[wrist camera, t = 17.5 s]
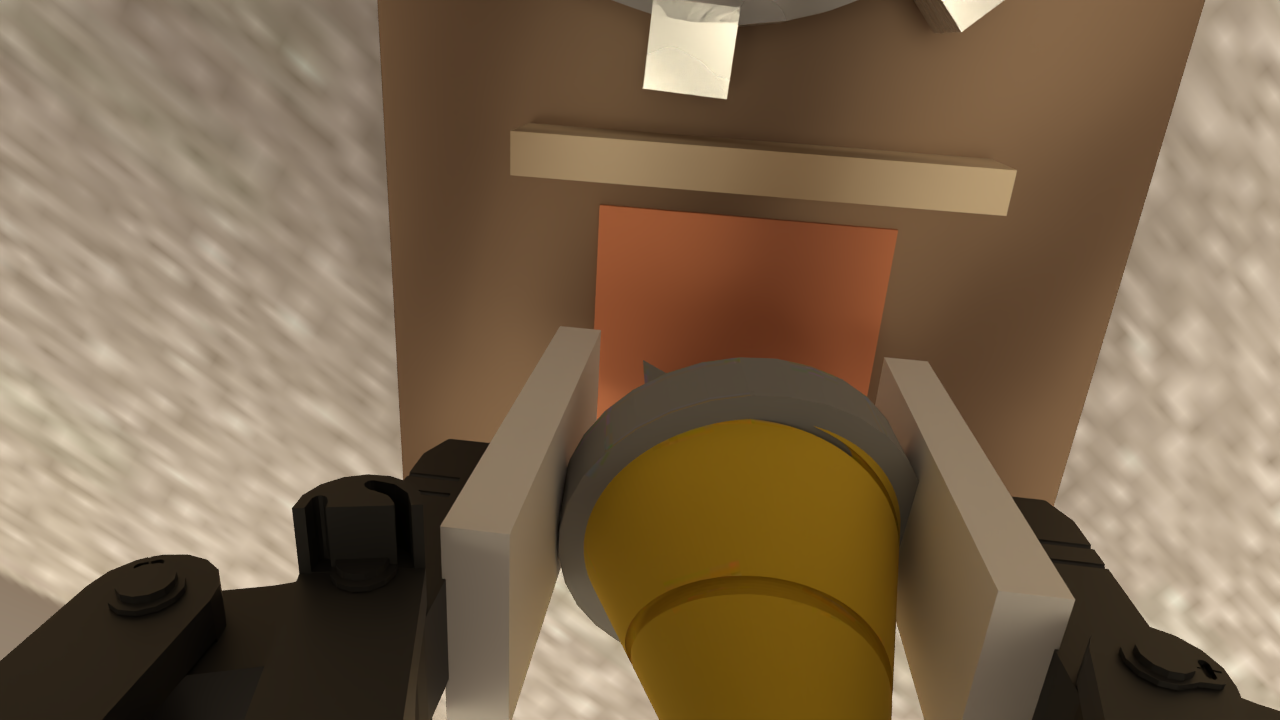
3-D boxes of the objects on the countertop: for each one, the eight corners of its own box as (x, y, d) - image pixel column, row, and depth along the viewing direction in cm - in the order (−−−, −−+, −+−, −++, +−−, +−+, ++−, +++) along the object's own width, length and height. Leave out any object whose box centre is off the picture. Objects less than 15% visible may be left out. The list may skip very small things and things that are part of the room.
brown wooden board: (419, 474, 21) (379, 529, 18) (361, -778, 12) (276, -969, 10) (1021, 541, 19) (1059, 608, 17) (1401, -782, 11) (1575, -995, 9)
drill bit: (760, 209, 13) (1073, 859, 4) (902, 422, 15) (1280, 1108, 7) (505, 376, 14) (378, 1107, 6) (671, 547, 17) (751, 1241, 8)
